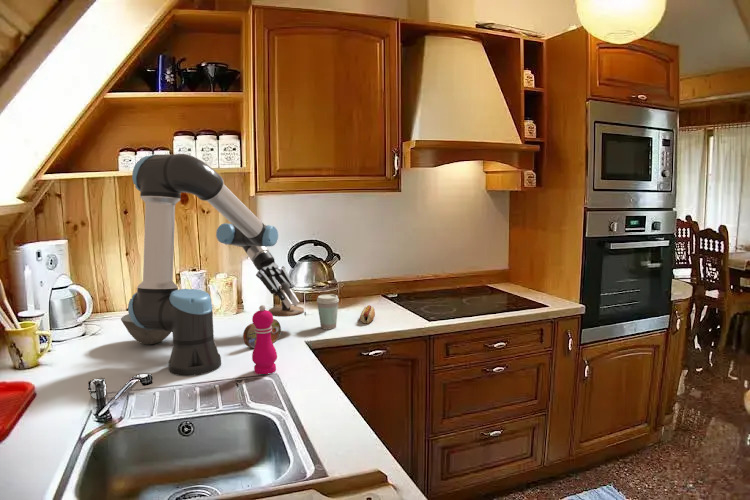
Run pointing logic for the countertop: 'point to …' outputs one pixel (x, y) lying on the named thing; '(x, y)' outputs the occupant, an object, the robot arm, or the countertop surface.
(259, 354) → the pepper mill
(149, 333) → the bowl
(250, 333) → the tin
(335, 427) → the countertop surface
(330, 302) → the coffee cup
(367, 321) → the food
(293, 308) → the walnut lid
